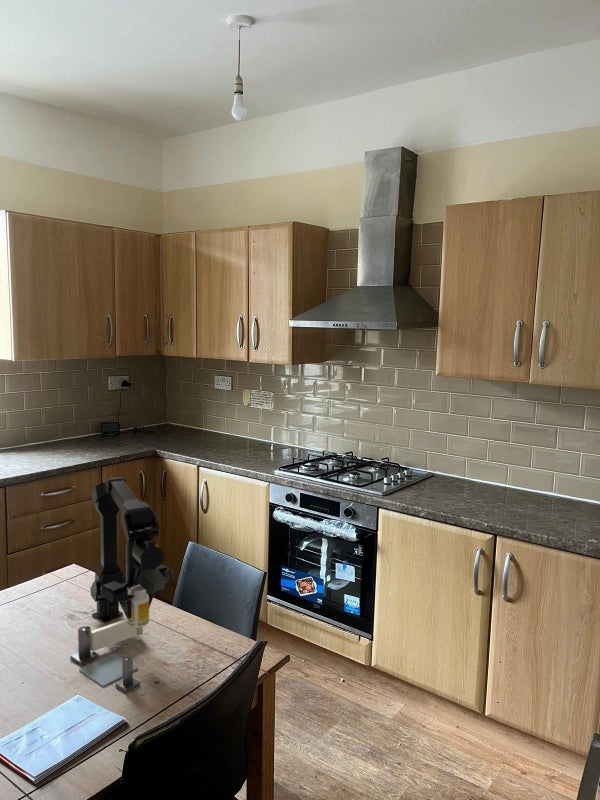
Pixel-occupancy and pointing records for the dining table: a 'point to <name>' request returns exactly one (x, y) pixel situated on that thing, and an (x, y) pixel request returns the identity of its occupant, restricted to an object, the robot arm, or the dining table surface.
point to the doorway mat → (105, 670)
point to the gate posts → (88, 655)
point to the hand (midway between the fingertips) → (137, 613)
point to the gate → (112, 634)
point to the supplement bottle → (139, 608)
